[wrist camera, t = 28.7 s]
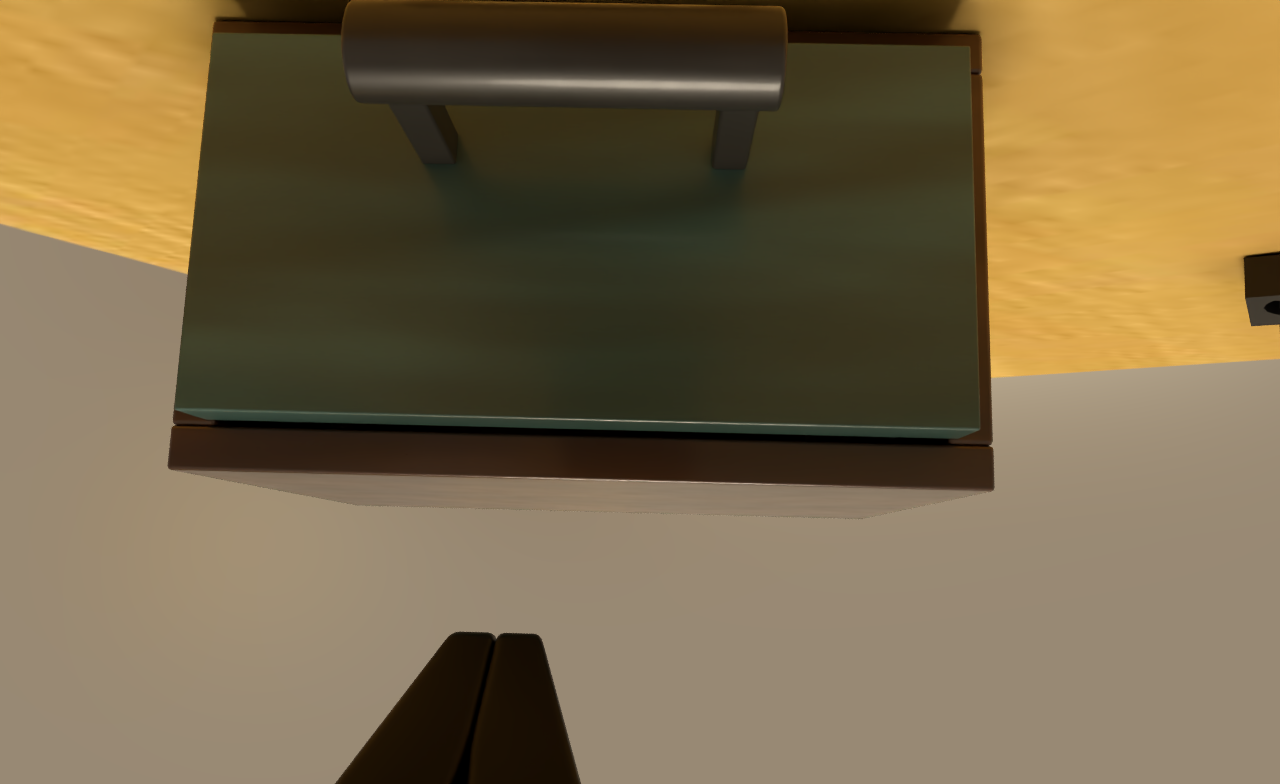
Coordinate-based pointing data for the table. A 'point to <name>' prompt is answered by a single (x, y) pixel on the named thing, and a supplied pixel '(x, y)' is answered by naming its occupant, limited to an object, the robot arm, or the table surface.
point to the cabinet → (609, 464)
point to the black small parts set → (1263, 289)
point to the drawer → (584, 227)
